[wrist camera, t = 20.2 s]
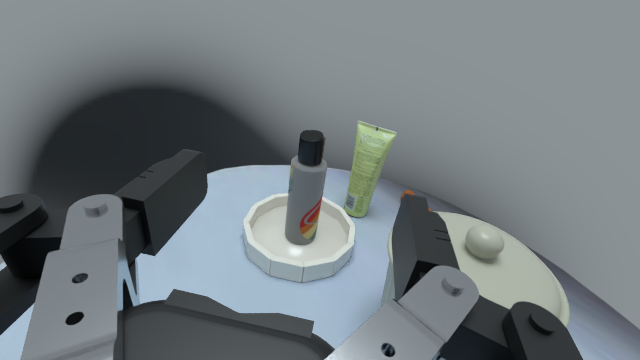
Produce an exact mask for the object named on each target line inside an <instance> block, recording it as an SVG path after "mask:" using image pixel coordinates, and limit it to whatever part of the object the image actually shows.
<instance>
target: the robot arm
mask: <svg viewBox="0 0 640 360" xmlns="http://www.w3.org/2000/svg"><path fill="white" fill-rule="evenodd" d="M207 188H208V184H207V170H206V157H205V155H204V153H202V152H197V151H191V150H187V149H183V150H181V151H180V152H179V153H177V154H176V155H175V156H173V157H172V158H171V159H169V158H168V159H166V160H163V161H160V162H158V163H155V164H154V165H153V166H151V167H150V168H149V169H147V171H145V172H144V173H142V174H141V175H139V177H137V178H135V179H134V180H132V181H131V182H130V183H128V184H127V185H126V186H124V187H123V188H121V189H120V190H119V191H117V192H116V193H115V194H113V195H108V194H101V195H94V196H90V197H86V198H83V199H81V200H79V201H77V202H75V203H74V204H73V205H72V206H71V207H70V208H59V209H45V206H44V204H43V202H42V199H41V198H40V197H39V196H37V195H34V194H15V195H9V196H5V197H2V198H0V254H1V256H2V258H3V259H4V261H5V263H6V265H7V266H6V267H5V268H4V269H2V270H1V271H0V335H1V334H2V333H3V332H4V331H5V330H6V329H7V328H9V327H10V326H11V325H12V324H13V323H14V322H15V321H16V320H17V319H18V318H19V317H20V316H21V315H22V314H23V313H24V312H25V311H26V310H27V309H28V308H29V307H31V306H32V305H33V304H34V303H35V304H34V308H33V312H32V316H31V320H30V324H29V328H28V332H27V336H26V340H25V344H24V348H23V352H22V356H21V360H441V358H444V359H445V360H583V358H582V357H581V355H580V353H579V351H578V349H577V347H576V345H575V343H574V341H573V339H572V337H571V335H570V333H569V332H568V330H567V328H566V327H565V326H564V324H563V323H562V322H561V321H560V320H559V319H558V318H557V317H556V316H555V315H554V314H552V313H551V312H550V311H548V310H546V309H545V308H543V307H541V306H539V305H537V304H534V303H531V302H526V301H520V302H517V303H515V304H513V306H512V307H511V309H508V308H506V307H503V306H501V305H499V304H497V303H495V302H493V301H490V300H488V299H486V298H484V297H483V296H481V295H480V294H479V291H478V288H477V286H476V284H475V283H474V281H473V280H472V279H471V278H470V277H469V276H468V275H466V274H465V273H463V272H462V271H460V268H459V265H458V261H457V258H456V255H455V252H454V248H453V245H452V242H451V239H450V236H449V234H448V229H447V226H446V223H445V221H444V220H443V219H442V218H441V217H440V215H439V214H438V213H437V212H432V211H429V208H428V204H427V200H426V198H425V197H422V196H417V195H412V194H407V193H405V194H404V196H403V199H402V202H401V205H400V208H399V211H398V214H397V217H396V220H395V223H394V226H393V231H392V255H393V271H394V287H395V299H391V300H389V301H388V302H387V303H386V304H384V305H383V306H382V307H381V308H380V309H379V310H378V311H377V312H376V313H375V314H374V315H372V316H371V317H370V318H369V319H368V320H367V321H366V322H365V323H364V324H363V325H362V326H361V327H359V328H358V329H357V330H356V331H355V332H354V333H353V334H352V335H351V336H350V337H349V338H348V339H346V340H345V341H344V342H343V343H342V344H341V345H340V346H339V347H338V348H337V349H336V350H335V349H334V348H333V347H332V346H331V345H329V344H328V343H327V342H326V341H325V340H323V339H322V338H320V337H319V336H317V335H315V334H313V333H312V330H313V324H314V321H311V320H306V319H302V318H298V317H293V316H289V315H285V314H280V313H238V312H235V311H233V310H232V309H230V308H228V307H226V306H224V305H222V304H220V303H218V302H216V301H215V300H213V299H211V298H209V297H206V296H202V295H198V294H193V293H189V292H185V291H180V290H176V289H173V291H172V292H171V294H170V295H169V297H168V298H167V299H166V300H159V301H152V302H147V303H143V304H140V300H139V282H138V264H137V260H136V258H137V257H138V256H139V255H140V253H143V254H148V255H152V256H155V255H156V254H157V253H158V252H159V251H160V250H161V248H162V247H163V246H164V245H165V244H166V243H167V241H168V240H169V239H170V238H171V237H172V236H173V235H174V233H175V232H176V231H177V230H178V229H179V228H180V226H181V225H182V224H183V223H184V222H185V221H186V220H187V218H188V217H189V216H190V215H191V214H192V213H193V212H194V210H195V209H196V208H197V207H198V206H199V205H200V203H201V202H202V201H203V200H204V198H205V196H206V193H207Z"/></svg>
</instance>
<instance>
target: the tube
mask: <svg viewBox="0 0 640 360" xmlns="http://www.w3.org/2000/svg"><path fill="white" fill-rule="evenodd" d="M396 134H397V133H396V132H394V131H390V130H386V129H383V128H380V127H377V126H373V125H370V124H367V123H364V122H361V121H358V124H357V135H356V144H355V152H354V158H353V164H352V170H351V176H350V181H349V187H348V192H347V197H346V201H345V206H344V209H345V211H346V213H348V214H349V215H351V216H354V217H363V216H365V215H366V213H367V210H368V207H369V204H370V201H371V198H372V195H373V192H374V189H375V186H376V183H377V181H378V178H379V175H380V172H381V170H382V167H383V164H384V162H385V159H386V157H387V154H388V152H389V149H390V147H391V145H392V142H393V141H394V139H395V137H396Z"/></svg>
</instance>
